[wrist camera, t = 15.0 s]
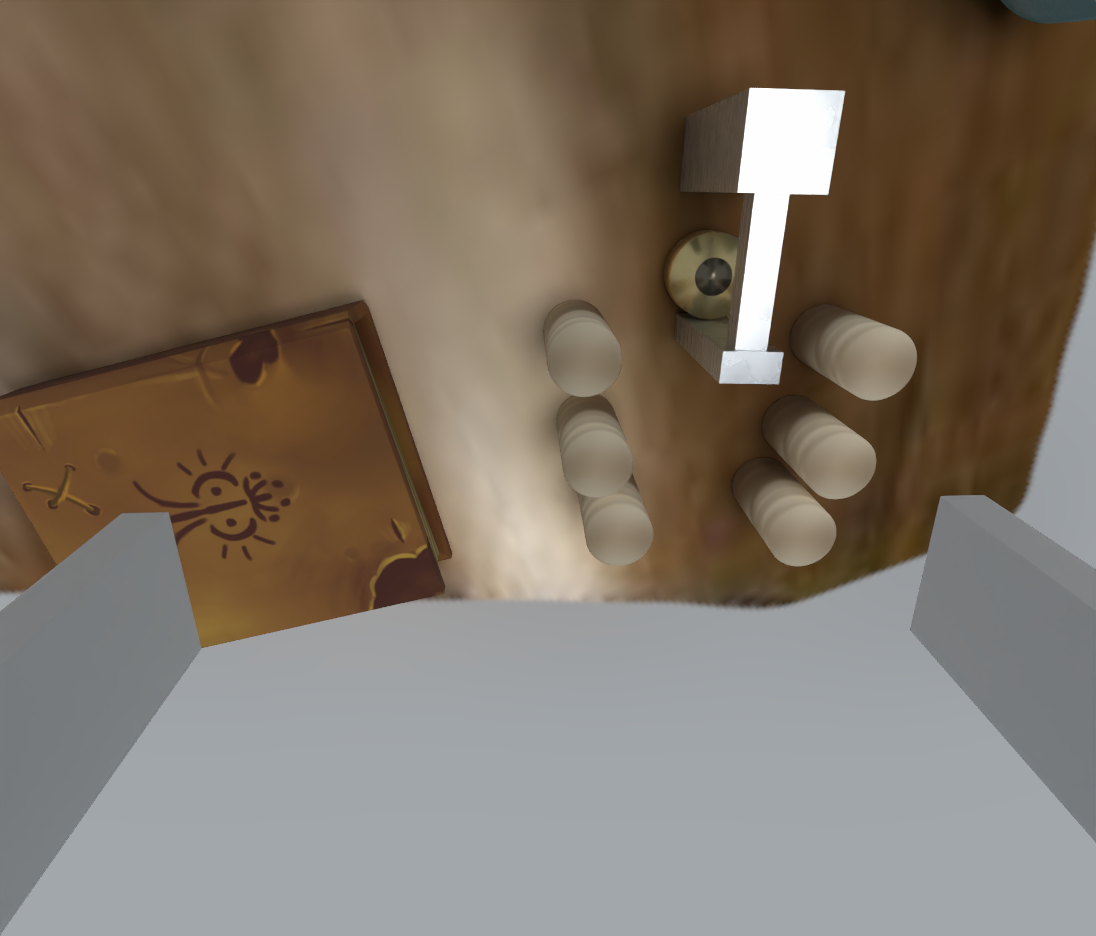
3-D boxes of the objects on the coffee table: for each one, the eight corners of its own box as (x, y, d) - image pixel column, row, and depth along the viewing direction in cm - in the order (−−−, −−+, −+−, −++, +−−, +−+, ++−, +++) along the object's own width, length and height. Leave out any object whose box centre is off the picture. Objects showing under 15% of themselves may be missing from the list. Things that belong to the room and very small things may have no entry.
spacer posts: (544, 299, 43) (548, 322, 36) (856, 304, 44) (924, 328, 36) (539, 507, 48) (542, 565, 41) (818, 509, 49) (870, 566, 42)
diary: (367, 297, 43) (344, 313, 38) (452, 550, 50) (444, 593, 45) (28, 384, 44) (-39, 411, 39) (158, 618, 51) (116, 668, 46)
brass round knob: (668, 226, 42) (678, 229, 39) (749, 232, 42) (763, 235, 40) (658, 309, 44) (666, 316, 41) (735, 314, 44) (747, 322, 42)
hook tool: (686, 116, 39) (750, 88, 28) (755, 118, 40) (845, 91, 28) (666, 338, 44) (714, 388, 33) (727, 339, 44) (795, 389, 33)
